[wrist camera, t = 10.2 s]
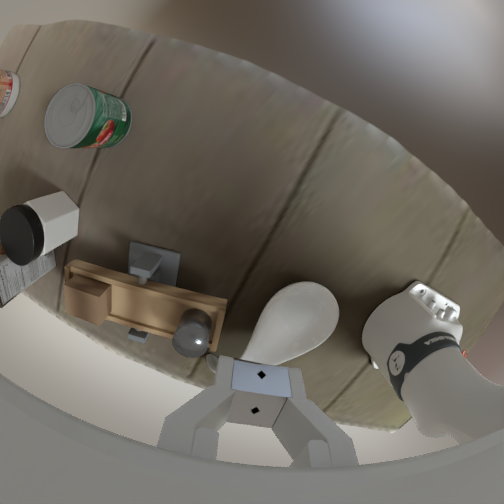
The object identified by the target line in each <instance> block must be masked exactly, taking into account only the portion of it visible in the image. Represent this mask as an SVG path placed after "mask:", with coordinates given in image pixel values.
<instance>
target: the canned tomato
mask: <svg viewBox="0 0 504 504" xmlns="http://www.w3.org/2000/svg"><path fill="white" fill-rule="evenodd" d="M131 125H132V111H131V108H130V106H129V104H128V103H127V102H126V101H125V100H123V99H122V98H119V97H116V96H113V95H111V94H108V93H105V92H103V91H100V90H97V89H95V88H92V87H89V86H86V85H84V84H81V83H72V84H68V85H66V86H64V87H63V88H61V89H60V90H59V91H58V92H57V93H56V94H55V95H54V97H53V98H52V99H51V101H50V103H49V105H48V107H47V110H46V114H45V119H44V129H45V134H46V136H47V139H48V140H49V142H50V143H51V144H52V145H53V146H55V147H57V148H61V149H67V148H111V147H114V146H116V145H118V144H119V143H120V142H122V141H123V140H124V139H125V137H126V136H127V134H128V133H129V130H130V128H131Z"/></svg>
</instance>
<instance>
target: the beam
mask: <svg viewBox="0 0 504 504" xmlns="http://www.w3.org/2000/svg"><path fill="white" fill-rule="evenodd" d="M64 273H65V283H66V282H67V281H68V280H70V279H71V278H72V277H73V276H75V275H76V274H80V275H83V276H86V277H89V278H92V279H95V280H98V281H102V282H105V283H108V284H111V285H112V311H111V313H110V314H109V315H108V316H107V318H106V319H107V320H110V321H113V322H116V323H119V324H122V325H125V326H129V327H132V328H135V330H136V331H145V332H149V333H152V334H156V335H159V336H163V337H167V338H170V339H173V336H174V333H175V331H176V328H177V326H178V323H179V321H180V318H181V316H182V314H183V313H184V312H185V311H186V310H188V309H193V308H195V309H200V310H203V311H205V312H206V313H207V314H208V315H209V316H210V317H211V320H212V328H211V333H210V338H209V342H208V347H207V348H211V350H210V351H213V352H216V350H217V346H218V341H219V337H220V333H221V329H222V325H223V321H224V316H225V312H226V306H227V299H223V298H219V297H214V296H210V295H206V294H201V293H197V292H193V291H189V290H185V289H181V288H177V287H173V286H169V285H165V284H161V283H158V282H154V281H150V280H147V278H146V277H142V276H139V275H138V277H135V276H132V275H128V274H125V273H121V272H118V271H114V270H111V269H107V268H104V267H100V266H97V265H94V264H90V263H87V262H84V261H81V260H77V259H74V260H73V261H72V262H70V263H69V264H67V265H66V266H65V267H64Z"/></svg>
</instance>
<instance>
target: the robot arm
mask: <svg viewBox="0 0 504 504" xmlns="http://www.w3.org/2000/svg"><path fill="white" fill-rule="evenodd" d="M459 311H460V307H459V305H458V304H457V303H455V302H454V301H452V300H450V299H449V298H447V297H445V296H444V295H442V294H440V293H439V292H437V291H435V290H434V289H432V288H430V287H429V286H427V285H425V284H424V283H422V282H420V281H415V282H414V283H412V284H411V285H410V286H409V287H408V288H407V289H406V290H405V291H403V292H401V293H399V294H397V295H394V296H392V297H390V298H389V299H387V300H385V301H384V302H383V303H381V304H380V305H379V306H378V307H377V308H376V309H375V310H374V311H373V313H372V314H371V315H370V317H369V318H368V320H367V322H366V324H365V326H364V329H363V333H362V343H363V346H364V348H365V350H366V351H367V352H368V354H369V355H370V356H371V363H372V365H373V366H374V368H376V369H379V370H380V371H381V373H382V374H383V375H384V377H385V378H386V380H387V381H388V382H389V384H390V385H391V386H393V388H394V391H395V393H396V395H397V396H398V397H399V398H400V400H402V401H403V402H404V403H405V404H406V406H407V408H408V410H409V412H410V414H411V416H412V418H413V420H414V422H415V424H416V426H417V428H418V430H419V431H420V432H421V433H422V434H423V435H425V436H428V437H436V438H438V437H444V436H448V435H451V436H452V437H453V438H454V439H455V440H456V441H457V442H458V443H459V444H460V445H458V446H454V447H451V448H447V449H444V450H440V451H437V452H433V453H428V454H424V455H420V456H415V457H410V458H405V459H400V460H394V461H388V462H381V463H375V464H365V465H359V463H358V460H357V456H356V452H355V449H354V445H353V442H352V439H351V438H350V437H349V436H348V435H347V434H346V433H345V432H344V431H343V430H341V429H340V428H339V427H338V426H337V425H336V424H335V423H334V422H333V421H332V420H331V419H330V418H329V417H328V416H327V415H326V414H325V413H324V412H323V411H322V410H321V409H320V408H318V407H317V406H316V405H315V404H314V403H313V402H312V401H311V400H307V397H306V392H305V386H304V381H303V376H302V371H301V369H300V368H293V367H282V366H275V365H269V364H262V363H257V362H252V361H247V360H242V359H238V358H234V359H233V358H232V357H227V356H223V355H220V356H219V359H218V363H217V368H216V372H215V376H214V381H213V385H212V386H211V385H210V386H209V387H207V388H206V389H205V390H203V391H202V392H201V393H199V394H198V395H196V396H195V397H194V398H193V399H191V400H190V401H188V402H187V403H185V404H184V405H183V406H181V407H180V408H178V409H177V410H175V411H174V412H173V413H171V414H170V415H168V416H167V417H166V418H165V421H164V424H163V427H162V431H161V434H160V437H159V441H158V444H157V447H155V446H152V445H148V444H145V443H142V442H138V441H135V440H132V439H129V438H127V437H124V436H121V435H118V434H115V433H113V432H110V431H107V430H105V429H102V428H100V427H97V426H95V425H92V424H90V423H87V422H86V421H83V420H81V419H79V418H77V417H74V416H72V415H70V414H68V413H66V412H64V411H62V410H60V409H58V408H56V407H54V406H52V405H50V404H49V403H47V402H45V401H43V400H41V399H40V398H38V397H36V396H34V395H33V394H31V393H29V392H28V391H26V390H24V389H23V388H21V387H20V386H18V385H16V384H15V383H13V382H12V381H10V380H9V379H7V378H6V377H4V376H3V375H1V374H0V504H504V386H502V385H498V384H495V383H492V382H490V381H489V380H487V379H486V378H484V377H483V376H482V375H480V373H479V372H478V371H477V370H476V369H475V368H474V367H473V366H472V365H471V364H470V363H469V361H467V359H466V358H465V357H466V355H467V353H466V354H465V355H464V352H465V350H463V352H461V349H460V346H459V341H460V339H461V336H462V330H463V329H462V325H461V323H460V322H459V321H458V317H459ZM463 355H464V356H463ZM226 422H231V423H238V424H247V425H253V426H260V427H267V428H272V430H273V432H274V433H275V435H276V436H277V438H278V439H279V441H280V442H281V443H282V445H283V446H284V448H285V449H286V451H287V452H288V453H289V455H290V456H291V458H292V459H293V460H294V461H293V462H292V464H291V465H290V466H289V467H270V466H257V465H247V464H239V463H231V462H224V461H218V460H216V456H217V446H218V436H219V434H218V432H217V431H218V430H219V429H220V428H221V427H222V426H223V425H224V424H225V423H226Z"/></svg>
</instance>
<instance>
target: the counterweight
mask: <svg viewBox="0 0 504 504" xmlns="http://www.w3.org/2000/svg"><path fill="white" fill-rule="evenodd" d="M211 328H212V320H211V317H210V316H209V315H208V314H207V313H206V312H205V311H203V310H200V309H195V308H193V309H188V310H186V311H185V312H184V313H183V314H182V316H181V318H180V321H179V323H178V326H177V328H176V331H175V333H174V336H173V339H172V343H173V346H174V348H175V349H176V351H177V352H179V353H180V354H182V355H184V356H186V357H191V358H195V357H199V356H202V355H203V354H204V353H205V352H206V350H207V347H208V342H209V338H210V333H211Z"/></svg>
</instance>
